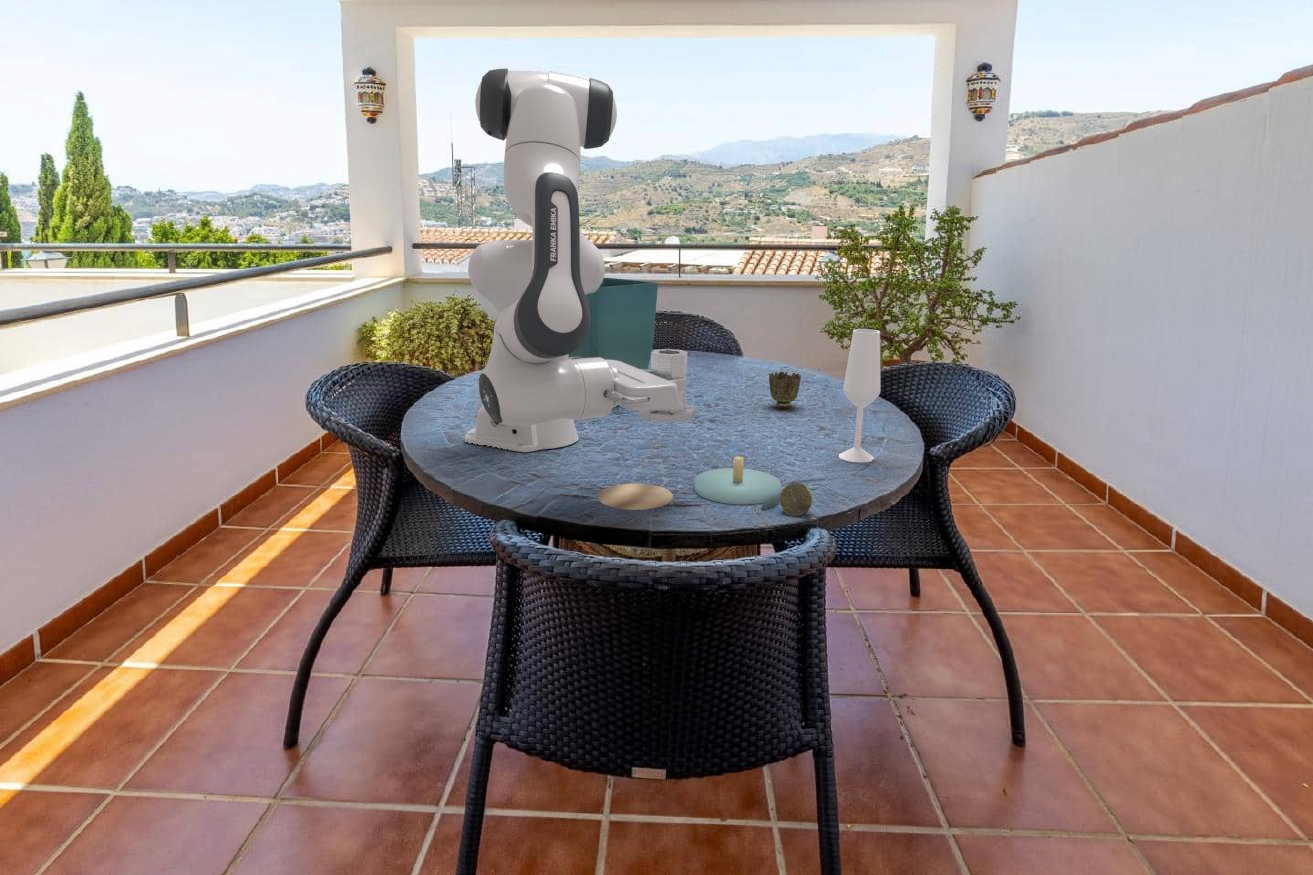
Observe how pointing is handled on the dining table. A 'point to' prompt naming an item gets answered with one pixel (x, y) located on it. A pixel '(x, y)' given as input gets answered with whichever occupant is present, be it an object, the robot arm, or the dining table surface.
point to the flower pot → (621, 322)
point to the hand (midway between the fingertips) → (673, 379)
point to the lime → (796, 499)
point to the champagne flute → (862, 383)
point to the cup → (784, 388)
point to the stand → (635, 496)
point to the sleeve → (668, 367)
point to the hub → (739, 486)
